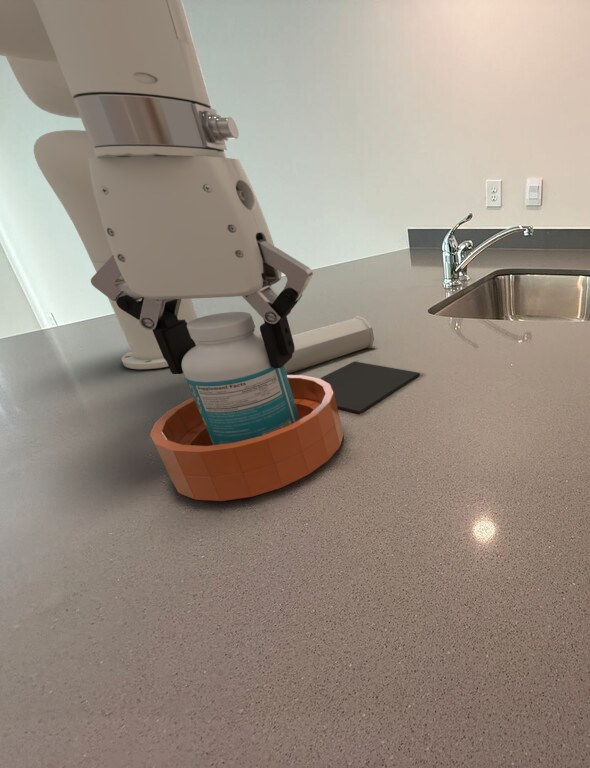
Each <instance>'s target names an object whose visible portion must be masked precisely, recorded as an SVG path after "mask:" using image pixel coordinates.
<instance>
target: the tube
mask: <svg viewBox="0 0 590 768" xmlns="http://www.w3.org/2000/svg"><path fill="white" fill-rule="evenodd" d="M291 335H292V339H293V342H294V347H295V350H294V353H293V354H292V358H291V359H290V360H289V361H288V362H287V363H286V364H285V365H284V367H285V370H286V374H287V375H290V374H292V373H296V372H297V371H301V370H304V369H307V368H310V367H313V366H316V365H319V364H322V363H325V362H328V361H330V360H334V359H337V358H340V357H343V356H346V355H349V354H352V353H356V352H358V351H361V350H364V349H371V348H373V344H374V341H375V336H374V329H373V327H372V325H371V324H370V322H369V321H368V320H367V319H366V318H365V317H362V316H359V315H356V316H354V317H353V318H351V319H347V320H343V321H340V322H336V323H333V324H328V325H325V326H321V327H318V328H314V329H310V330H307V331H302V332H299V333H297V334H295V333H294V334H291Z"/></svg>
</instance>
